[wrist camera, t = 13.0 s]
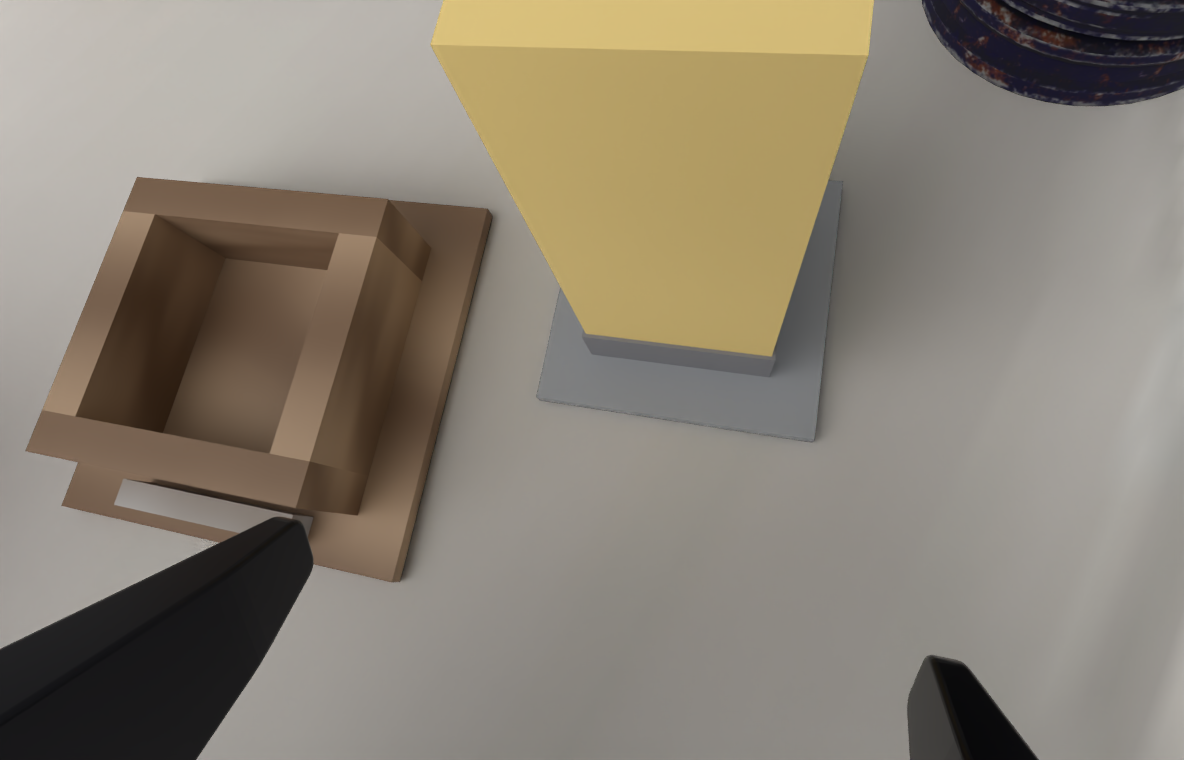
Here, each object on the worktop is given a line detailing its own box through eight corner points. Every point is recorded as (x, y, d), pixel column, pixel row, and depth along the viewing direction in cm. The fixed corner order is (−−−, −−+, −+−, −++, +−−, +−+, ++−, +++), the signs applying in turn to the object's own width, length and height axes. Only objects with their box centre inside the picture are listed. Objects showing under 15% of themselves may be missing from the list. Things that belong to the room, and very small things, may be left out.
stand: (812, 442, 18) (814, 439, 17) (539, 400, 19) (536, 397, 19) (840, 188, 20) (842, 181, 19) (589, 170, 21) (587, 164, 21)
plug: (769, 377, 18) (878, 63, 7) (591, 354, 19) (420, 51, 8) (789, 213, 19) (911, -291, 8) (621, 200, 20) (512, -258, 9)
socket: (399, 581, 19) (333, 586, 15) (75, 506, 21) (-42, 497, 18) (492, 216, 21) (452, 153, 18) (196, 189, 24) (114, 130, 21)
